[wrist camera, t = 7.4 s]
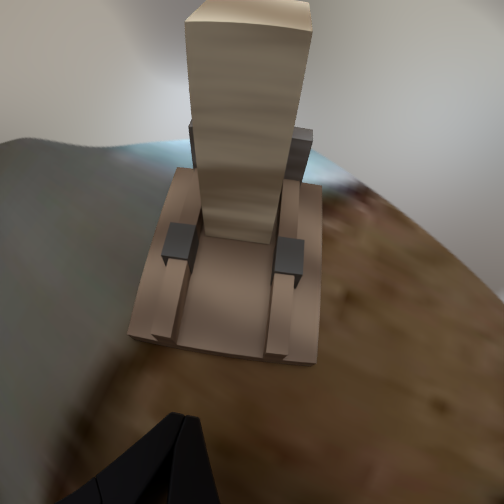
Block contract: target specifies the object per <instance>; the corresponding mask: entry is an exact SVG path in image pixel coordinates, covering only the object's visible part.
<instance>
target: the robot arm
mask: <svg viewBox="0 0 504 504" xmlns="http://www.w3.org/2000/svg"><path fill="white" fill-rule="evenodd" d="M54 504H220V500H219V497H218V493H217V489H216V486H215V482H214V478H213V474H212V470H211V466H210V462H209V458H208V454H207V449H206V445H205V441H204V436H203V432H202V427H201V422H200V419H199V417H195V416H190V415H186V416H185V415H184V414H180V413H175V412H171V413H169V414H168V415H167V416H166V417H165V418H164V419H163V420H162V421H160V422H159V423H158V424H157V425H156V426H155V427H154V428H152V429H151V430H150V431H149V432H148V433H147V434H146V435H144V436H143V437H142V438H141V439H140V440H139V441H137V442H136V443H135V444H134V445H133V446H132V447H130V448H129V449H128V450H127V451H126V452H124V453H123V454H122V455H121V456H120V457H118V458H117V459H116V460H115V461H114V462H112V463H111V464H110V465H109V466H107V467H106V468H105V469H104V470H102V471H101V472H100V473H99V474H97V475H96V478H95V477H93V478H92V479H91V480H90V481H88V482H87V483H86V484H85V485H83V486H82V487H80V488H79V489H78V490H76V491H75V492H73V493H72V494H70V495H68V496H67V497H65V498H63V499H62V500H60V501H58V502H56V503H54Z"/></svg>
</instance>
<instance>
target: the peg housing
mask: <svg viewBox="0 0 504 504" xmlns="http://www.w3.org/2000/svg"><path fill="white" fill-rule="evenodd" d="M189 136H190V145H191V153H192V161H193V169H191V168H179V167H177V169H176V172H175V174H174V177H173V180H172V183H171V186H170V188H169V191H168V194H167V197H166V200H165V203H164V206H163V209H162V212H161V215H160V218H159V221H158V224H157V227H156V230H155V233H154V236H153V240H152V243H151V246H150V249H149V253H148V256H147V260H146V263H145V266H144V270H143V274H142V277H141V281H140V284H139V288H138V292H137V296H136V299H135V303H134V307H133V311H132V315H131V319H130V323H129V328H128V332H127V335H129V336H130V337H131V338H133V339H135V340H139V341H144V342H148V343H153V344H158V345H163V346H168V347H173V348H178V349H183V350H189V351H194V352H200V353H206V354H212V355H219V356H225V357H232V358H239V359H247V360H255V361H263V362H271V363H281V364H291V365H302V366H312V365H314V364H316V363H317V350H318V335H319V317H320V296H321V266H322V186H320V185H314V184H308V183H302V179H303V175H304V172H305V168H306V165H307V161H308V157H309V154H310V150H311V146H312V142H313V130H310V129H305V128H299V127H294V130H293V135H292V140H291V145H290V150H289V155H288V159H287V164H286V169H285V174H284V179H283V184H282V188H281V193H280V198H279V203H278V207H277V212H276V217H275V221H274V226H273V231H272V235H271V240H270V244H263V243H256V242H248V241H241V240H234V239H226V238H219V237H211V236H205V228H204V221H203V213H202V205H201V197H200V189H199V181H198V172H197V163H196V154H195V145H194V135H193V125H192V120H191V122H190V124H189Z"/></svg>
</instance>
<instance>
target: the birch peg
mask: <svg viewBox="0 0 504 504" xmlns="http://www.w3.org/2000/svg"><path fill="white" fill-rule="evenodd" d="M312 32H313V31H312V22H311V14H310V7H309V3H307V2H301V1H295V0H206V1H205V2H204V3H203V4H202V5H201V6H200V7H199V8H198V9H197V10H196V11H195V12H194V13H193V14H192V15H191V16H190V17H189V18H188V19H187V20H186V21H185V38H186V52H187V65H188V66H187V67H188V80H189V92H190V103H191V115H192V125H193V135H194V145H195V154H196V163H197V172H198V181H199V189H200V197H201V205H202V213H203V221H204V228H205V236H211V237H219V238H226V239H234V240H241V241H248V242H256V243H263V244H270V240H271V235H272V231H273V226H274V221H275V217H276V212H277V207H278V203H279V198H280V193H281V188H282V184H283V179H284V174H285V169H286V164H287V159H288V155H289V150H290V145H291V140H292V135H293V130H294V125H295V120H296V115H297V110H298V105H299V100H300V95H301V90H302V84H303V79H304V74H305V69H306V64H307V58H308V53H309V48H310V43H311V38H312Z"/></svg>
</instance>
